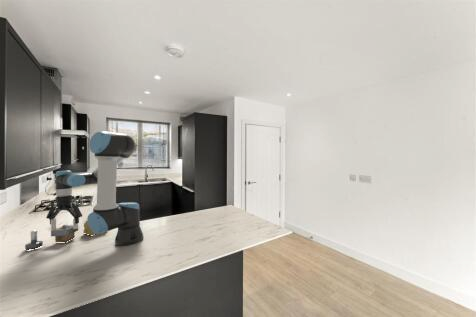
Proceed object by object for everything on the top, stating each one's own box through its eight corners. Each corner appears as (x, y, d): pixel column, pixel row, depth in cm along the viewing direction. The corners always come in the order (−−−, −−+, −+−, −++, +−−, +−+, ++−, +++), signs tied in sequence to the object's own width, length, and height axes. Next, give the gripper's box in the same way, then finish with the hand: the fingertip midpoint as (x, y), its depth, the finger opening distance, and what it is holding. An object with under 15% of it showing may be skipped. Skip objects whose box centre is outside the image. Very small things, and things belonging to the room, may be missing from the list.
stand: (74, 239, 125) (74, 223, 125) (66, 243, 118) (65, 226, 118) (64, 239, 124) (64, 223, 125) (55, 243, 118) (55, 227, 118)
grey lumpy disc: (78, 230, 126) (78, 225, 126) (66, 235, 117) (66, 229, 117) (64, 231, 126) (63, 225, 126) (51, 236, 117) (50, 230, 117)
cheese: (83, 234, 132) (82, 220, 132) (100, 229, 142) (100, 215, 142) (91, 237, 127) (91, 221, 127) (108, 231, 137) (108, 217, 137)
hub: (46, 245, 116) (45, 228, 116) (34, 251, 109) (33, 233, 109) (34, 246, 115) (33, 229, 116) (21, 251, 108) (21, 233, 109)
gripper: (88, 193, 126) (89, 226, 126) (49, 194, 125) (50, 227, 125) (79, 195, 118) (80, 230, 118) (37, 196, 118) (38, 231, 118)
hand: (64, 229), depth 122 cm, fingers open, 13 cm apart
